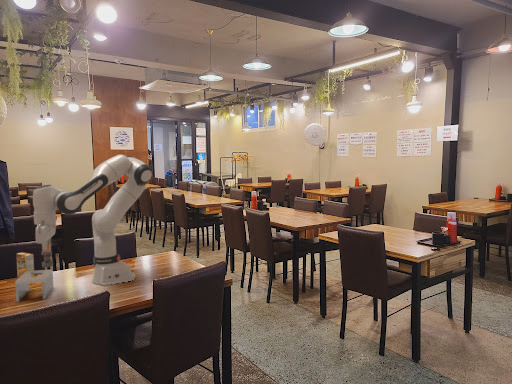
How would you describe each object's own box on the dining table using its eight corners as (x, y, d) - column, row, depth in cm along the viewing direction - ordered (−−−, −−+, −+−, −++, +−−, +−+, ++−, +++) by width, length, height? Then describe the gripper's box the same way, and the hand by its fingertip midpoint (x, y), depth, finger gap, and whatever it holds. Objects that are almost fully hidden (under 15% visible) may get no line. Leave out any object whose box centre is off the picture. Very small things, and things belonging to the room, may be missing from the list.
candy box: (17, 281, 194) (15, 253, 192) (25, 278, 197) (23, 251, 196) (27, 283, 190) (26, 255, 188) (35, 280, 194) (33, 253, 192)
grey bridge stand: (53, 288, 184) (52, 269, 183) (45, 299, 169) (44, 279, 168) (27, 290, 180) (26, 271, 179) (16, 302, 166) (15, 281, 165)
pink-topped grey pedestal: (54, 264, 170) (52, 242, 169) (51, 267, 166) (50, 244, 165) (43, 265, 169) (42, 242, 168) (41, 267, 165) (39, 245, 164)
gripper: (46, 223, 156) (48, 253, 158) (57, 215, 176) (59, 242, 177) (30, 224, 155) (32, 254, 156) (43, 216, 174) (45, 243, 175)
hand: (46, 248), depth 167 cm, fingers closed on pink-topped grey pedestal, 3 cm apart
